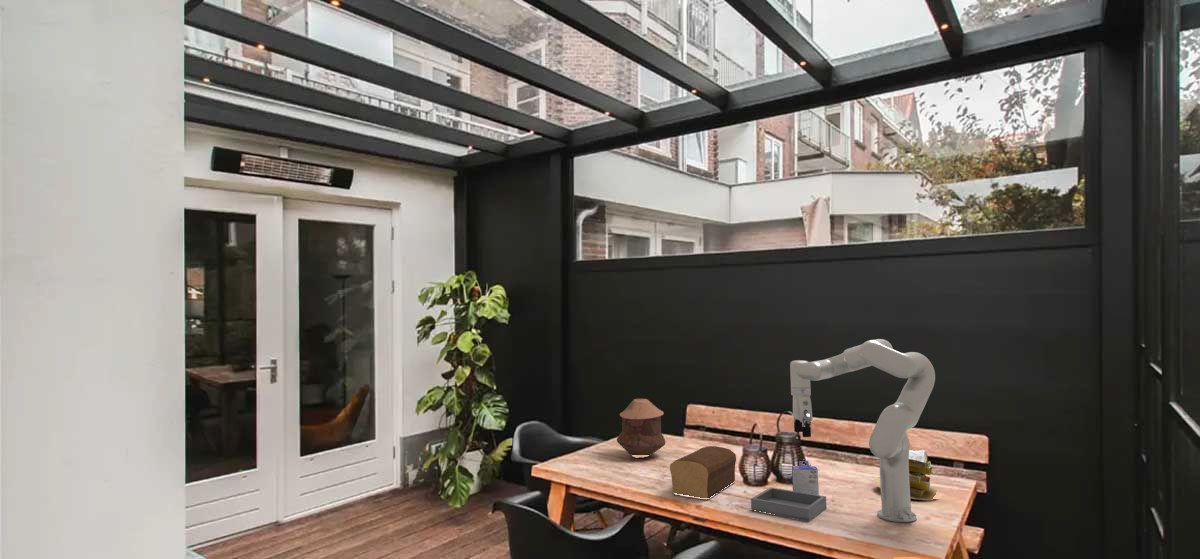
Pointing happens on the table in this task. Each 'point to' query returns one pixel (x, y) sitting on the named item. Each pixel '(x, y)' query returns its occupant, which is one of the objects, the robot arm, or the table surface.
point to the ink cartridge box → (805, 478)
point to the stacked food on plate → (918, 476)
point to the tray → (789, 503)
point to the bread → (703, 472)
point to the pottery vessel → (641, 428)
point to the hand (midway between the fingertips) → (802, 434)
